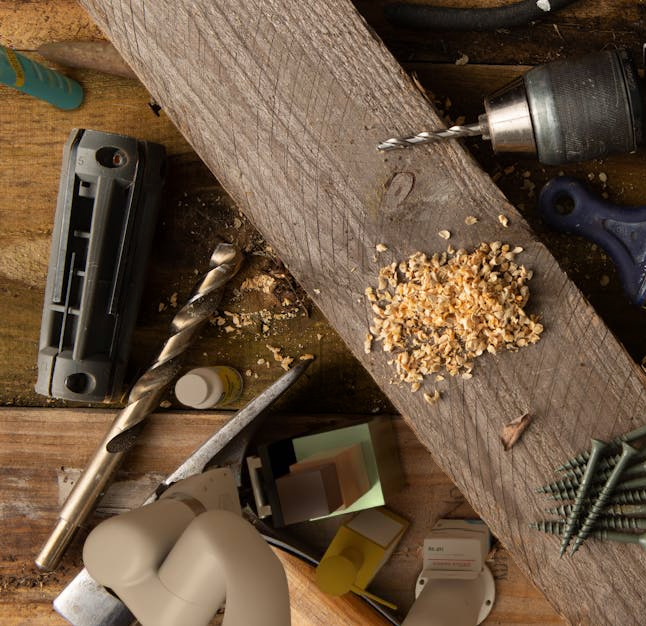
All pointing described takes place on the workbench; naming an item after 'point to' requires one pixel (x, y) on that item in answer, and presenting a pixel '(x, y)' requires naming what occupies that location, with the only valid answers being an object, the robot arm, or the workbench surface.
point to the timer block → (309, 493)
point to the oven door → (272, 475)
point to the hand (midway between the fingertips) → (243, 495)
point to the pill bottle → (209, 387)
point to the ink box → (456, 549)
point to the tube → (38, 80)
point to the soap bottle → (360, 552)
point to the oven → (375, 449)
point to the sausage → (88, 57)
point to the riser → (343, 470)
